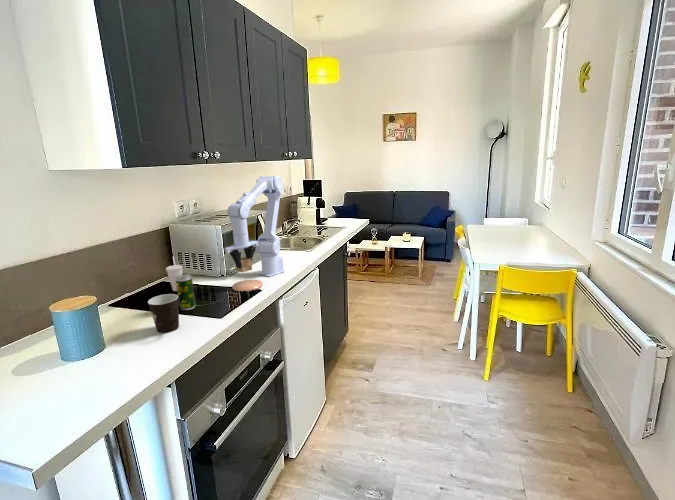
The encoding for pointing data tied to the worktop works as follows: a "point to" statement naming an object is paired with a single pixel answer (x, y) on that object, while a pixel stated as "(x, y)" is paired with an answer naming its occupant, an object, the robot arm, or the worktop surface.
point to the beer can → (185, 292)
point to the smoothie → (174, 274)
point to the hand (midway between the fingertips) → (244, 266)
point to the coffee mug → (165, 312)
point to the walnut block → (245, 265)
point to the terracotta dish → (247, 285)
